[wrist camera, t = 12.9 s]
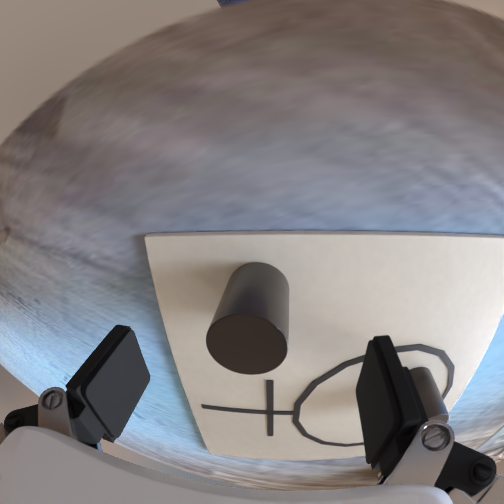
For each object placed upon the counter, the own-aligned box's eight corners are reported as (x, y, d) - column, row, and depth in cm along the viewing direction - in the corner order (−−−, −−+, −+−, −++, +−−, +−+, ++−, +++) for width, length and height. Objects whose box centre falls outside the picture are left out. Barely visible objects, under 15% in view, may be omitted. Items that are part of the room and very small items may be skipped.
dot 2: (399, 369, 15) (416, 420, 11) (436, 363, 15) (457, 409, 11) (387, 397, 17) (398, 444, 12) (422, 391, 16) (437, 435, 12)
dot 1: (225, 261, 14) (199, 311, 10) (289, 261, 13) (289, 315, 9) (230, 314, 15) (211, 372, 11) (288, 315, 15) (286, 376, 10)
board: (148, 233, 14) (142, 237, 14) (520, 235, 11) (526, 239, 11) (210, 449, 23) (209, 454, 23) (423, 440, 20) (424, 444, 19)
